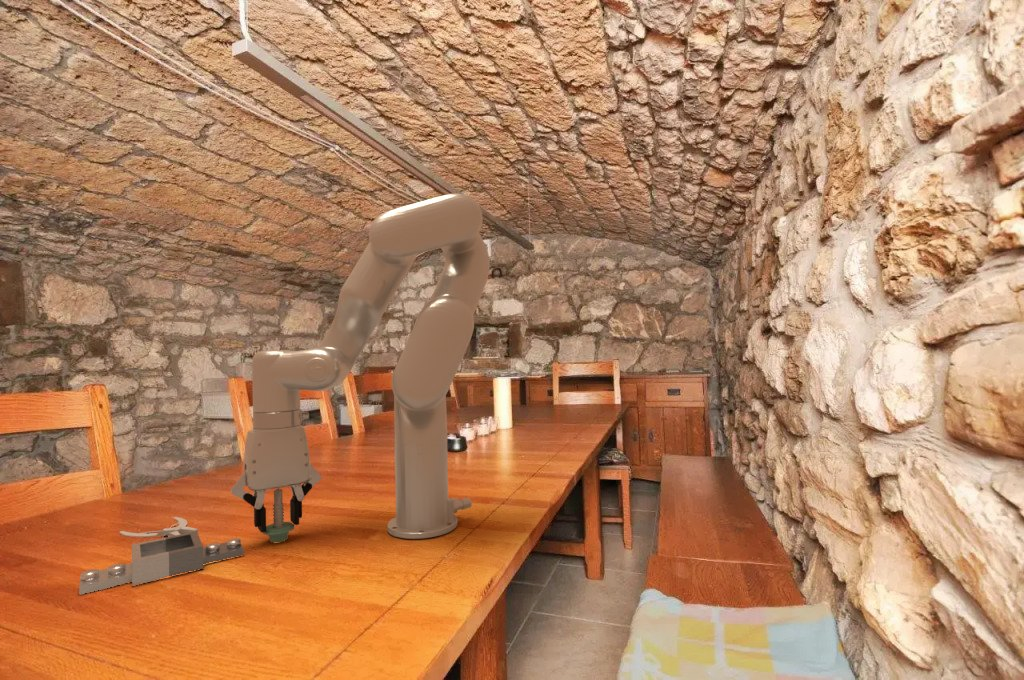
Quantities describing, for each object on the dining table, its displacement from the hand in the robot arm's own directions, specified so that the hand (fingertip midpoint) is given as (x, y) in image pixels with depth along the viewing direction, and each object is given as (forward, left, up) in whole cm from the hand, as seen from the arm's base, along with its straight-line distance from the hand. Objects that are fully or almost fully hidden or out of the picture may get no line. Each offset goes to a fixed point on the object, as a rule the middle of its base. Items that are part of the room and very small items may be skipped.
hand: (278, 525), depth 87 cm
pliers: (+15, -19, -3) cm, 24 cm away
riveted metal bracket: (+16, +1, -3) cm, 16 cm away
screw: (0, 0, -3) cm, 3 cm away
